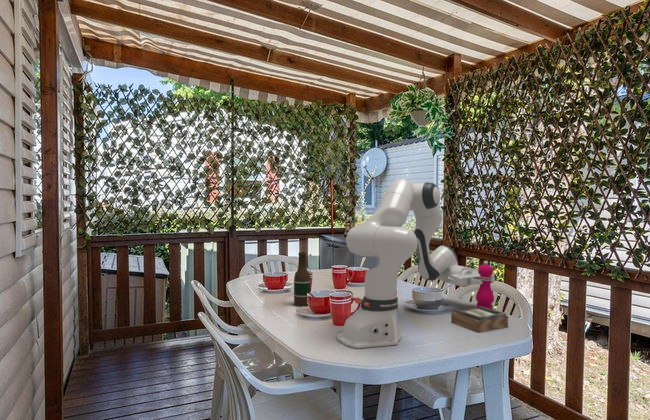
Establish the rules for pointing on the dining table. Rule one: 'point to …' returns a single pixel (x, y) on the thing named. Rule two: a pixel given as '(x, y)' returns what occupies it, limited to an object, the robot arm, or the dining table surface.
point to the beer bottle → (301, 282)
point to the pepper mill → (485, 287)
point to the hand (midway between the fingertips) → (487, 282)
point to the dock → (480, 319)
